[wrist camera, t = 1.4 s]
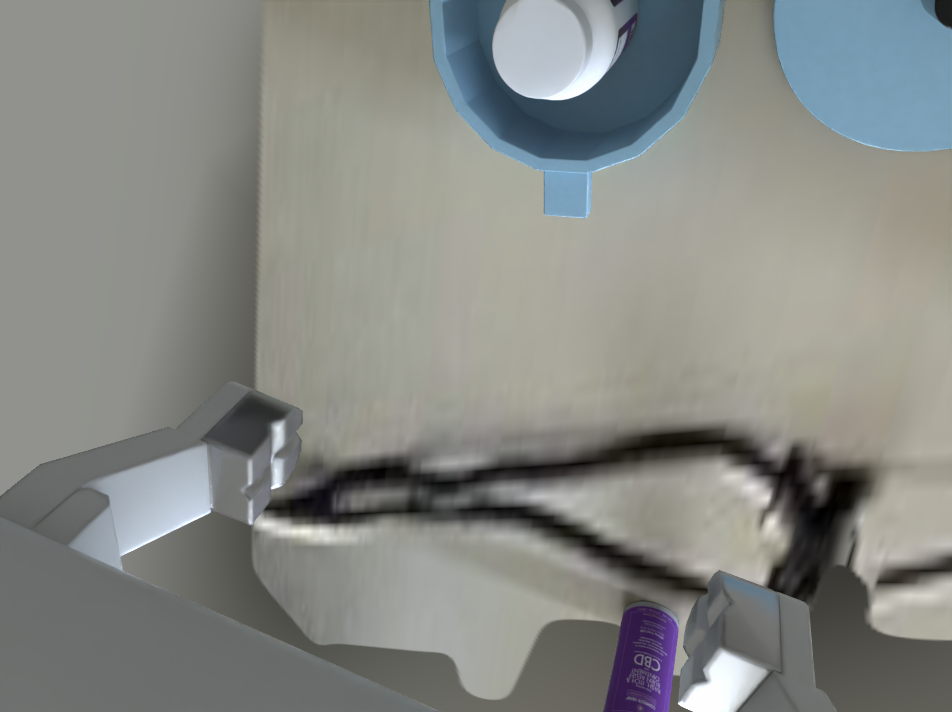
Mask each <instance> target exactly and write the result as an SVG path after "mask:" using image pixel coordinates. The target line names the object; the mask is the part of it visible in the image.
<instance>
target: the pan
mask: <svg viewBox="0 0 952 712" xmlns="http://www.w3.org/2000/svg"><path fill="white" fill-rule="evenodd" d="M505 2H506V0H430V1H429V6H430V18H431V31H432V43H433V56H434V61H435V64H436V66H437V68H438V70H439V73H440V75H441V77H442V80H443V82H444V84H445V87H446V89H447V91H448V93H449V96H450V98H451V100H452V103H453V105H454V107H455V109H456V111H457V112H458V113H459V114H460V115H461V116H462V117H463V119H464V120H465V121H466V122H467V123H468V124H469V125H470V126H471V127H472V128H473V129H474V130H475V131H476V132H477V133H478V134H479V135H480V137H481V138H482V139H483V140H484V141H485V142H486V143H487V144H488V145H489V146H490V147H491V148H493V149H494V150H496V151H498V152H500V153H502V154H504V155H507V156H509V157H511V158H513V159H515V160H517V161H519V162H521V163H523V164H525V165H527V166H530V167H532V168H534V169H536V170H539V171H544V215H551V216H564V217H577V218H587V217H588V215H589V213H590V211H591V185H592V172H595V171H598V170H601V169H604V168H606V167H609V166H612V165H615V164H618V163H621V162H624V161H627V160H630V159H632V158H635V157H638V156H639V155H641V154H642V153H644V152H645V151H646V150H647V149H648V148H649V147H651V146H652V145H653V144H654V143H655V142H656V141H657V140H659V139H660V138H661V137H662V136H663V135H664V134H666V133H667V132H668V131H669V130H670V129H671V128H672V127H674V126H675V125H676V124H677V123H678V122H679V121H681V120H682V118H683V117H684V116H685V114H686V112H687V110H688V108H689V107H690V105H691V103H692V101H693V99H694V97H695V95H696V93H697V91H698V90H699V88H700V86H701V84H702V82H703V80H704V78H705V76H706V75H707V73H708V71H709V69H710V67H711V65H712V63H713V60H714V57H715V54H716V51H717V48H718V45H719V42H720V36H721V29H722V21H723V14H724V5H725V0H638V6H639V13H638V22H637V27H636V30H635V33H634V36H633V38H632V40H631V42H630V43H629V45H628V47H627V48H626V50H625V51H624V52H623V53H622V55H621V56H620V57H619V58H618V59H617V61H616V62H615V63H614V64H613V65H612V66H611V68H610V69H609V70H608V71H607V72H606V73H605V75H604V76H603V77H602V78H601V79H600V80H599V81H598V82H597V83H596V84H595V85H594V86H592V87H591V88H590V89H588V90H587V91H585V92H584V93H582V94H580V95H578V96H575V97H572V98H569V99H564V100H548V99H535V98H529V97H526V96H523V95H521V94H519V93H517V92H515V91H514V90H513V89H511V88H510V87H509V86H508V85H507V84H506V83H505V81H504V80H503V79H502V77H501V76H500V74H499V72H498V70H497V68H496V65H495V62H494V58H493V50H492V42H493V35H494V31H495V28H496V25H497V23H498V21H499V18H500V14H501V11H502V8H503V6H504V4H505Z"/></svg>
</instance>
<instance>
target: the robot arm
mask: <svg viewBox="0 0 952 712" xmlns="http://www.w3.org/2000/svg"><path fill="white" fill-rule="evenodd" d="M302 420H303V411H302V410H300V409H299V408H297V407H295V406H292V405H290V404H288V403H285V402H283V401H280V400H278V399H276V398H273V397H271V396H268V395H266V394H264V393H261V392H259V391H256V390H253V389H250V388H248V387H245V386H243V385H241V384H238V383H236V382H233V381H231V382H228V383H226V384H224V385H223V386H221V387H220V388H219V389H218V390H217V391H216V392H215V393H214V394H213V395H212V396H211V397H210V398H208V400H206V401H205V402H204V403H203V404H202V405H201V406H200V407H199V408H198V409H197V410H195V412H193V413H192V414H191V415H190V416H189V417H188V418H187V419H186V420H185V421H184V422H183V423H181V424H180V425H179V426H178V427H177V428H176V429H172V428H170V427H167V428H164V429H160V430H157V431H153V432H150V433H146V434H143V435H140V436H136V437H132V438H129V439H126V440H122V441H119V442H115V443H112V444H108V445H105V446H101V447H98V448H95V449H91V450H88V451H84V452H81V453H78V454H74V455H71V456H67V457H64V458H60V459H57V460H53V461H50V462H46V463H43V464H40V465H39V466H37V467H36V468H35V469H34V470H32V471H31V472H30V473H29V474H27V475H26V476H25V477H24V478H22V479H21V480H20V481H19V482H17V483H16V484H15V485H14V486H12V487H11V488H10V489H9V490H7V491H6V492H5V493H4V494H3V495H1V496H0V712H440V711H438V710H436V709H434V708H431V707H429V706H427V705H425V704H422V703H420V702H418V701H415V700H413V699H411V698H409V697H407V696H404V695H402V694H400V693H397V692H395V691H393V690H391V689H388V688H386V687H384V686H382V685H379V684H377V683H375V682H373V681H370V680H368V679H366V678H364V677H361V676H359V675H357V674H355V673H352V672H350V671H348V670H345V669H343V668H341V667H339V666H337V665H334V664H332V663H330V662H328V661H325V660H323V659H321V658H319V657H316V656H314V655H312V654H309V653H307V652H305V651H303V650H300V649H298V648H296V647H294V646H291V645H289V644H287V643H285V642H282V641H280V640H278V639H275V638H273V637H271V636H269V635H267V634H264V633H262V632H260V631H258V630H255V629H253V628H251V627H248V626H246V625H244V624H242V623H240V622H237V621H235V620H233V619H231V618H228V617H226V616H224V615H221V614H219V613H217V612H215V611H212V610H210V609H208V608H206V607H203V606H201V605H199V604H196V603H194V602H192V601H190V600H188V599H185V598H183V597H181V596H178V595H176V594H174V593H172V592H170V591H167V590H165V589H163V588H160V587H158V586H156V585H154V584H151V583H149V582H147V581H145V580H142V579H140V578H138V577H136V576H133V575H131V574H128V573H127V572H124V571H123V568H122V562H121V558H120V556H122V555H124V554H126V553H128V552H130V551H132V550H134V549H136V548H138V547H140V546H142V545H144V544H147V543H149V542H151V541H153V540H155V539H157V538H159V537H161V536H163V535H165V534H167V533H169V532H171V531H173V530H175V529H177V528H179V527H182V526H184V525H185V524H188V523H190V522H192V521H194V520H196V519H198V518H200V517H202V516H204V515H206V514H208V513H210V512H211V510H213V511H215V512H218V513H221V514H223V515H226V516H228V517H231V518H233V519H236V520H239V521H241V522H244V523H246V524H249V525H252V523H253V522H254V521H255V520H256V518H257V517H258V516H259V515H260V513H261V512H262V511H263V510H264V508H265V507H266V506H267V505H268V503H269V502H270V501H271V489H273V488H276V487H279V486H281V485H283V484H284V483H285V482H286V481H287V479H288V478H289V477H290V475H291V474H292V472H293V470H294V468H295V466H296V464H297V462H298V459H299V455H300V451H301V441H302V440H301V439H300V437H299V435H298V434H297V432H296V431H297V430H298V429H299V427H300V426H301V425H302ZM683 648H684V650H685V652H686V654H687V656H688V660H687V661H686V663H685V664H684V666H683V667H682V669H681V674H680V687H679V699H678V704H679V705H681V706H684V707H686V708H688V709H690V710H693V711H695V712H837V711H836V709H835V708H834V706H833V704H832V703H831V701H830V700H829V698H828V697H827V695H826V694H825V692H824V691H822V690H819V689H817V688H816V687H815V676H814V665H813V653H812V642H811V630H810V618H809V608H808V606H807V605H806V603H805V602H803V601H800V600H797V599H795V598H792V597H789V596H787V595H784V594H781V593H779V592H774V591H773V590H771V589H769V588H766V587H763V586H761V585H758V584H755V583H753V582H750V581H747V580H745V579H742V578H739V577H736V576H734V575H731V574H728V573H726V572H723V571H720V570H719V571H717V572H716V573H715V574H714V575H713V576H712V578H711V579H710V581H709V584H708V594H707V595H704V596H700V597H699V598H698V599H697V601H696V603H695V604H694V606H693V608H692V610H691V613H690V615H689V618H688V621H687V624H686V629H685V634H684V642H683Z"/></svg>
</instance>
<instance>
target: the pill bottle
mask: <svg viewBox="0 0 952 712" xmlns="http://www.w3.org/2000/svg"><path fill="white" fill-rule="evenodd" d="M638 13H639V6H638V0H506V2H505V4H504V6H503V8H502V11H501V14H500V18H499V21H498V23H497V25H496V28H495V31H494V35H493V42H492V50H493V58H494V62H495V65H496V68H497V70H498V72H499V74H500V76H501V77H502V79H503V80H504V81H505V83H506V84H507V85H508V86H509V87H510V88H511V89H513V90H514V91H515V92H517V93H519V94H521V95H523V96H526V97H529V98H535V99H548V100H564V99H569V98H572V97H575V96H578V95H580V94H582V93H584V92H585V91H587V90H588V89H590V88H591V87H592V86H594V85H595V84H596V83H597V82H598V81H599V80H600V79H601V78H602V77H603V76H604V75H605V73H606V72H607V71H608V70H609V69H610V68H611V66H612V65H613V64H614V63H615V62H616V61H617V59H618V58H619V57H620V56H621V55H622V53H623V52H624V51H625V50H626V48H627V47H628V45H629V43H630V42H631V40H632V38H633V36H634V33H635V30H636V27H637V22H638Z"/></svg>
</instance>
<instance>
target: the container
mask: <svg viewBox="0 0 952 712" xmlns="http://www.w3.org/2000/svg"><path fill="white" fill-rule="evenodd" d="M678 629H679V623H678V620H677V618H676V616H675V615H674V614H673V613H672V612H671V611H670V610H668V609H667V608H665V607H663V606H661V605H659V604H656V603H652V602H646V601H640V602H635V603H632V604H630V605H628V606H627V607H626V608H625V610H624V613H623V617H622V622H621V626H620V631H619V636H618V641H617V646H616V651H615V656H614V661H613V666H612V670H611V675H610V680H609V685H608V690H607V695H606V699H605V704H604V709H603V712H668V711H669V702H670V695H671V686H672V678H673V670H674V662H675V654H676V646H677V638H678Z"/></svg>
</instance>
